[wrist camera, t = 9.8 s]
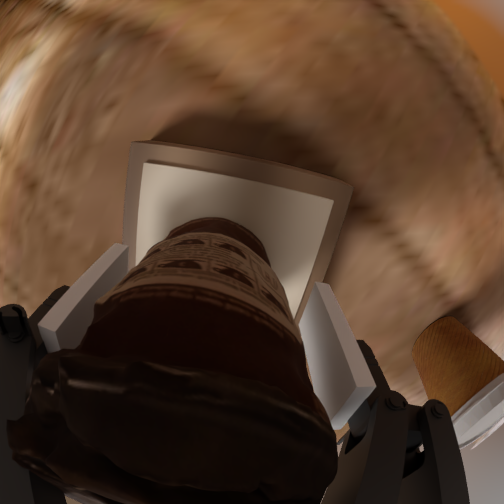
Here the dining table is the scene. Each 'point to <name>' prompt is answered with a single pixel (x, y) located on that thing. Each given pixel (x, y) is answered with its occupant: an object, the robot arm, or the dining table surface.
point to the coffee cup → (183, 386)
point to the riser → (237, 207)
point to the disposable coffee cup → (461, 377)
